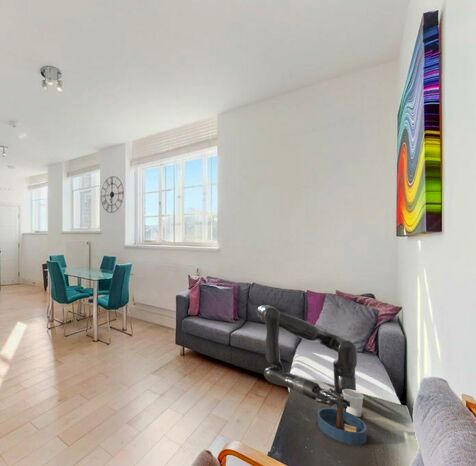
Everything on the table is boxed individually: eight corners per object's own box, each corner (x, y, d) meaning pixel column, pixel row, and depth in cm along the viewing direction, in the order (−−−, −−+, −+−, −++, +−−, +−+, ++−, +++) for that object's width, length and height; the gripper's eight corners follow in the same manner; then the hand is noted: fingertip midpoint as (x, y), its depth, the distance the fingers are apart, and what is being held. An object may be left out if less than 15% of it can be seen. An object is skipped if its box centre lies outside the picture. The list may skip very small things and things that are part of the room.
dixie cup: (339, 411, 139) (338, 391, 139) (347, 406, 143) (347, 387, 143) (359, 421, 132) (358, 399, 132) (368, 415, 136) (367, 394, 136)
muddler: (336, 426, 125) (337, 394, 125) (346, 431, 122) (346, 398, 122) (332, 429, 124) (333, 396, 123) (342, 434, 120) (343, 401, 120)
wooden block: (344, 432, 123) (344, 423, 124) (356, 436, 121) (356, 427, 121) (344, 437, 120) (344, 428, 120) (356, 441, 118) (356, 432, 118)
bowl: (329, 415, 137) (328, 403, 137) (374, 436, 122) (373, 423, 122) (310, 427, 128) (310, 415, 128) (356, 452, 113) (355, 438, 113)
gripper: (297, 383, 132) (340, 401, 117) (313, 375, 139) (355, 392, 124) (298, 399, 132) (341, 419, 116) (313, 391, 138) (356, 409, 123)
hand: (348, 405), depth 120 cm, fingers closed on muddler, 2 cm apart
